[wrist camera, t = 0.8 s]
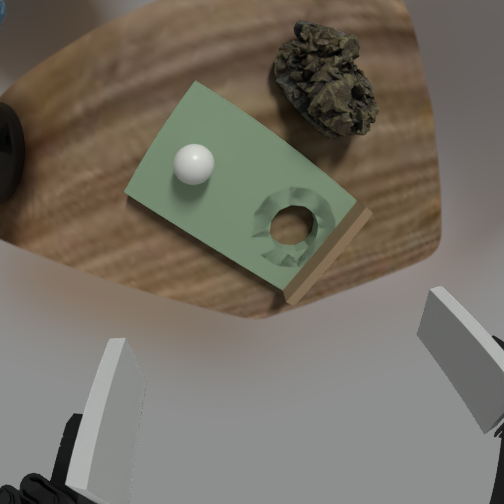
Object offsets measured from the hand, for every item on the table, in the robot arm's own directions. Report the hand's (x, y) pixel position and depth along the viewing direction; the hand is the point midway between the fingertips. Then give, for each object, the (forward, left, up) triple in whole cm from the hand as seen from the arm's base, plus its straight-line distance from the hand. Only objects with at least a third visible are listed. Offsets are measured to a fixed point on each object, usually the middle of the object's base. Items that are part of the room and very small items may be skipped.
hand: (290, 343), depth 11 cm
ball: (-7, 0, -20) cm, 21 cm away
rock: (-1, +16, -24) cm, 29 cm away
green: (0, 0, -24) cm, 24 cm away
